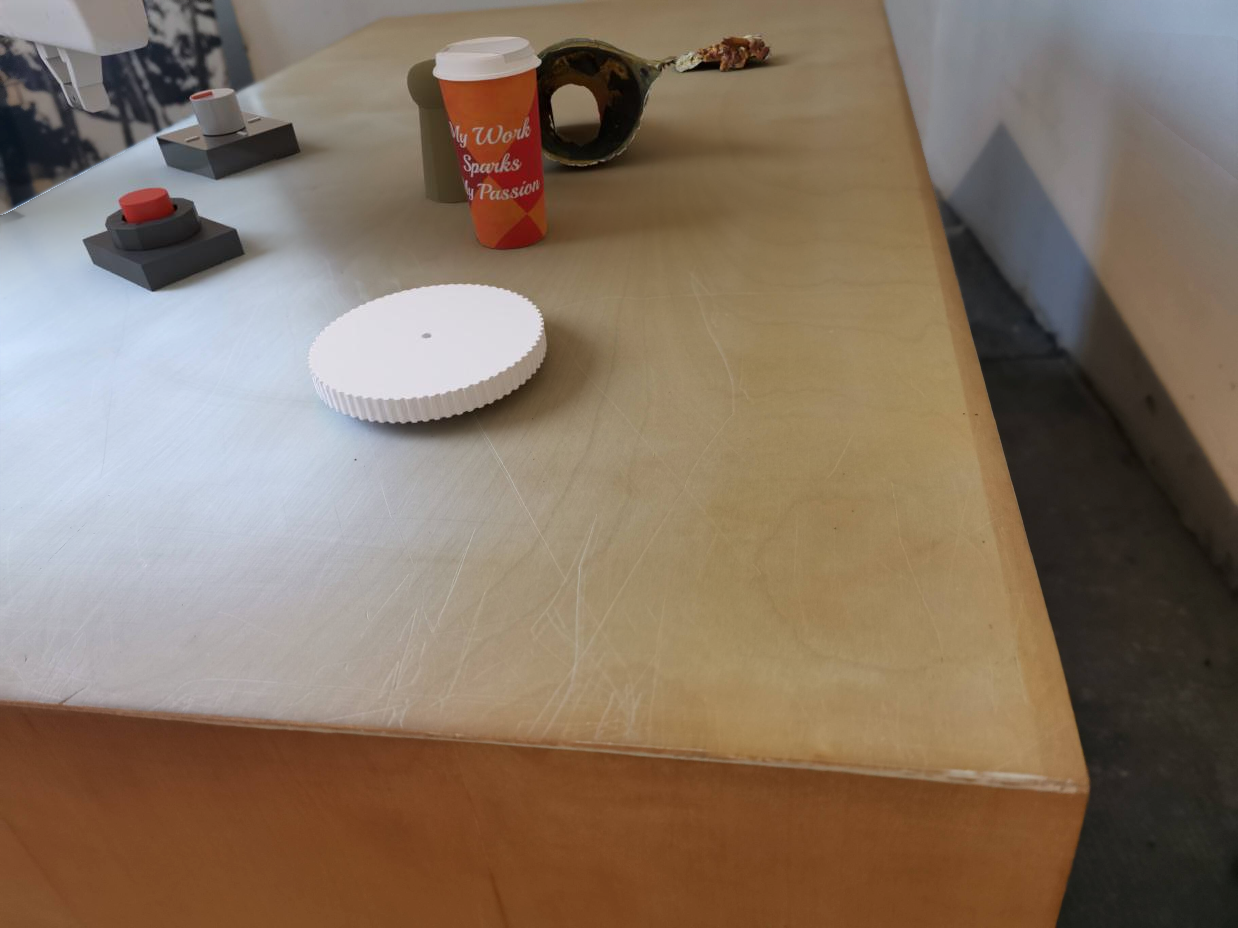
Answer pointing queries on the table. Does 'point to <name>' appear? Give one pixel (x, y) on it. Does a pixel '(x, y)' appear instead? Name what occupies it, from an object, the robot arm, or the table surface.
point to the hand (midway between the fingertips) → (91, 108)
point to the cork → (435, 137)
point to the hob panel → (229, 147)
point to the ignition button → (146, 205)
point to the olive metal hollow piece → (595, 95)
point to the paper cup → (496, 136)
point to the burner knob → (217, 111)
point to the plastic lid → (427, 353)
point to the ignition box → (163, 246)
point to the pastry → (727, 53)
